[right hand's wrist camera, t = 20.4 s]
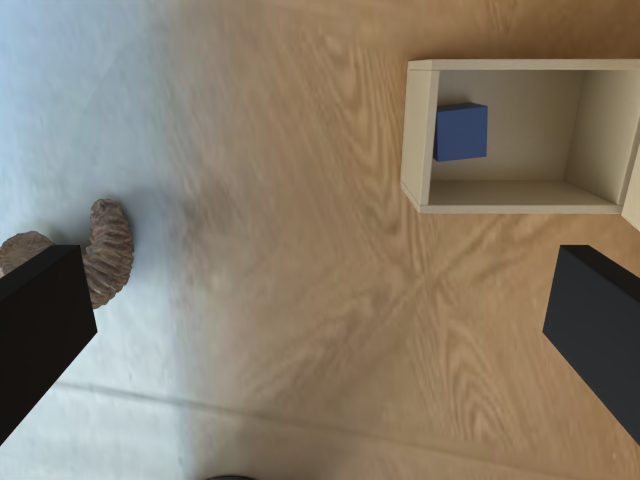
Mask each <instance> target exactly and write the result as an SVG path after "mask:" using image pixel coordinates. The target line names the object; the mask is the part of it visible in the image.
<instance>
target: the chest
mask: <svg viewBox="0 0 640 480" xmlns="http://www.w3.org/2000/svg"><path fill="white" fill-rule="evenodd" d="M470 102H472V103H477V104H481V105H485V106H488V121H487V156H486V157H479V158H469V159H460V160H451V161H442V162H437V161H436V160H435V159H433V158H432V157H433V145H434V134H435V123H436V112H437V106H444V105H452V104H461V103H470ZM639 144H640V59H427V60H415V61H408V69H407V85H406V100H405V116H404V131H403V147H402V163H401V178H400V186H401V188H402V189H403V191H404V192H405V194H406V195H407V197H408V198H409V200H410V201H411V202H412V204H413V205H414V207H415V208H416V210H417V211H418V213H419V214H558V213H622V211H623V207H624V203H625V199H626V195H627V191H628V187H629V183H630V179H631V175H632V171H633V167H634V163H635V159H636V155H637V151H638V148H639Z"/></svg>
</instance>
